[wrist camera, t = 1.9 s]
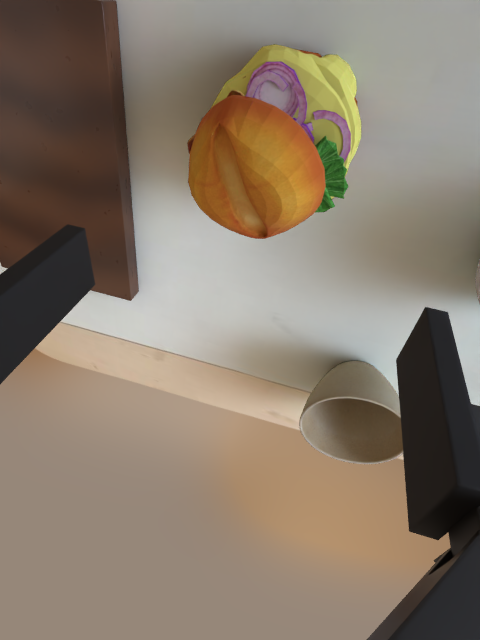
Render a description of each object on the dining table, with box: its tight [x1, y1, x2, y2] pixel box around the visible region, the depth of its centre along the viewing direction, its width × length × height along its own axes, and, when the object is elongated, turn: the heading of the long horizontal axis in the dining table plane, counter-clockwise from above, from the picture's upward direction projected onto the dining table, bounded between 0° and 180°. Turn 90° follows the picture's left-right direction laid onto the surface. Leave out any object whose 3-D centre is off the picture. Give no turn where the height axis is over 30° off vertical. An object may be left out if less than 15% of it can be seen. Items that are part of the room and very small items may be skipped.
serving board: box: [0, 0, 139, 301], centre depth 33 cm, size 24×15×2 cm, turn 173°
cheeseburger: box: [187, 44, 361, 239], centre depth 25 cm, size 10×11×10 cm
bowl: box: [299, 361, 403, 464], centre depth 38 cm, size 10×10×7 cm
